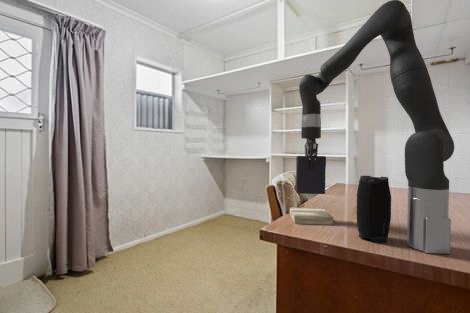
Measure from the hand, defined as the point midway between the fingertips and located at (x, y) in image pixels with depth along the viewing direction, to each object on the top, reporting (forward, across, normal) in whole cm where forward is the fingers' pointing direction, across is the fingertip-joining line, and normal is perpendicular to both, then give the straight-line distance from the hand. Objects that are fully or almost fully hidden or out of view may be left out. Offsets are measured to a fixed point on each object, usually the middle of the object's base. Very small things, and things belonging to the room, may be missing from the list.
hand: (310, 169), depth 99 cm
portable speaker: (+20, -21, -15) cm, 33 cm away
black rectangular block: (+10, 0, 0) cm, 10 cm away
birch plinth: (+20, 0, 0) cm, 20 cm away
